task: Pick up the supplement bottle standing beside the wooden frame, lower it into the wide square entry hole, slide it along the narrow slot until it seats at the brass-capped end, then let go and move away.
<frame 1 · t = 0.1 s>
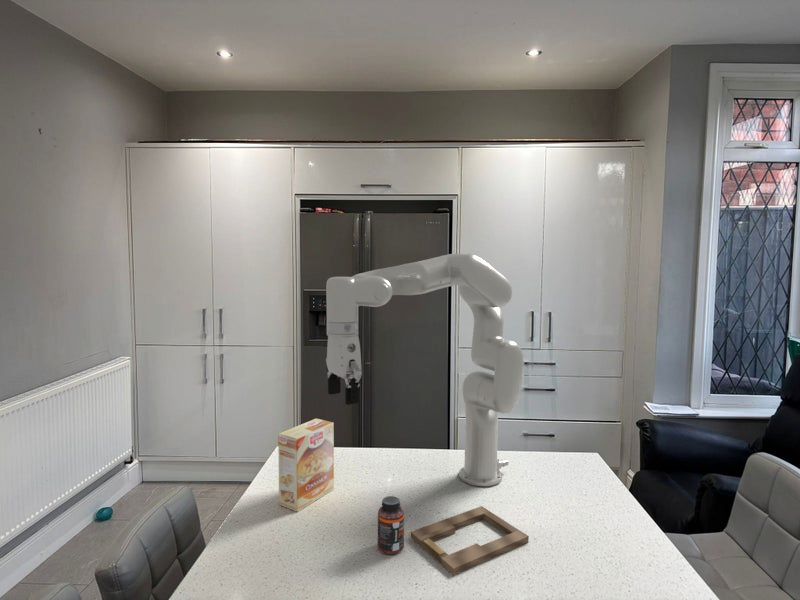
hand: (342, 398, 120), 31 cm above the kitchen island, tool pointing down, fingers open, 9 cm apart
coffeecake box: (307, 497, 134), on the kitchen island
wooden frame: (458, 544, 113), on the kitchen island
supplement bottle: (390, 548, 111), on the kitchen island
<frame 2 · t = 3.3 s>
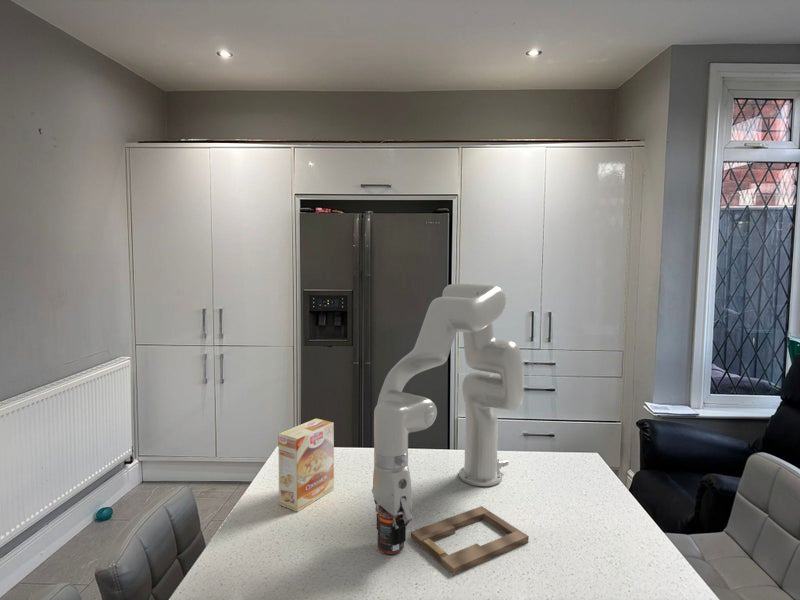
hand: (390, 534, 111), 3 cm above the kitchen island, tool pointing down, fingers closed on supplement bottle, 6 cm apart
supplement bottle: (390, 548, 111), on the kitchen island, touching gripper
everything else where it was.
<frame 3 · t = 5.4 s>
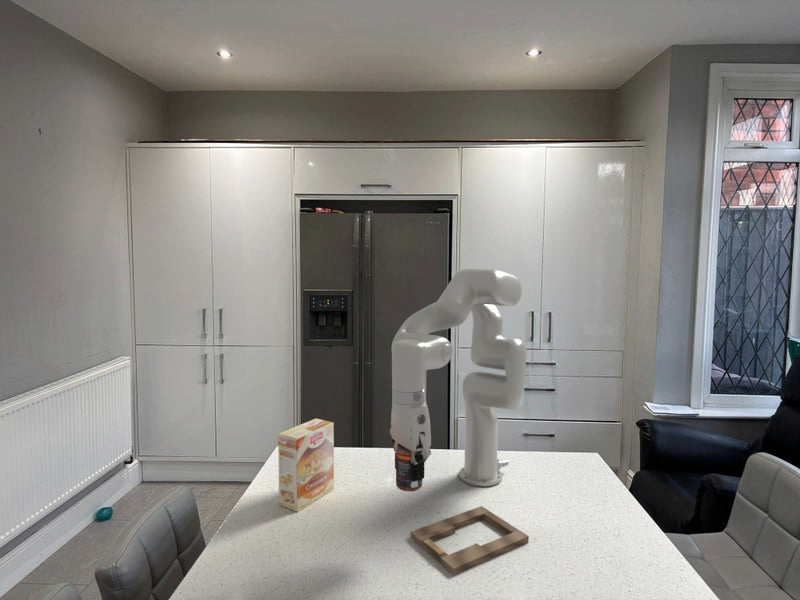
hand: (409, 473, 111), 17 cm above the kitchen island, tool pointing down, fingers closed on supplement bottle, 6 cm apart
supplement bottle: (409, 487, 111), point 14 cm above the kitchen island, touching gripper
everything else where it was.
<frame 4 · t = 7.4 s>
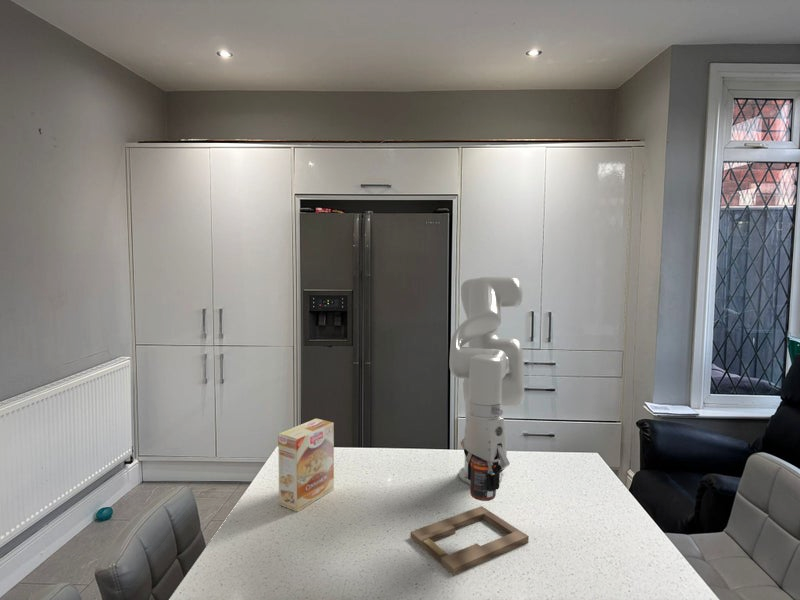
hand: (483, 483, 115), 13 cm above the kitchen island, tool pointing down, fingers closed on supplement bottle, 6 cm apart
supplement bottle: (482, 496, 116), point 9 cm above the kitchen island, touching gripper
everything else where it was.
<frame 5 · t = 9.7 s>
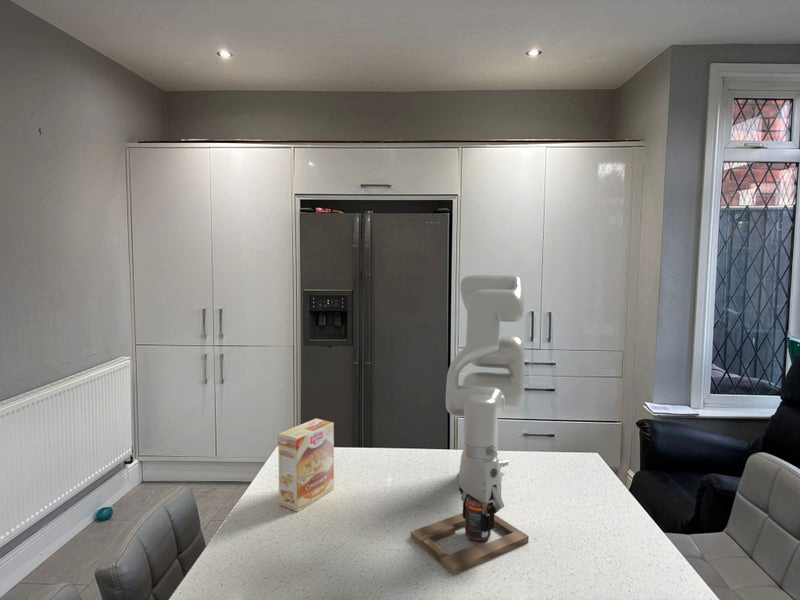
hand: (478, 522, 116), 3 cm above the kitchen island, tool pointing down, fingers closed on supplement bottle, 6 cm apart
supplement bottle: (477, 535, 116), resting in wooden frame, touching gripper
everything else where it was.
when the fingers open (3 cm above the kitchen island, at t = 11.8 s): supplement bottle stays where it is, resting in wooden frame.
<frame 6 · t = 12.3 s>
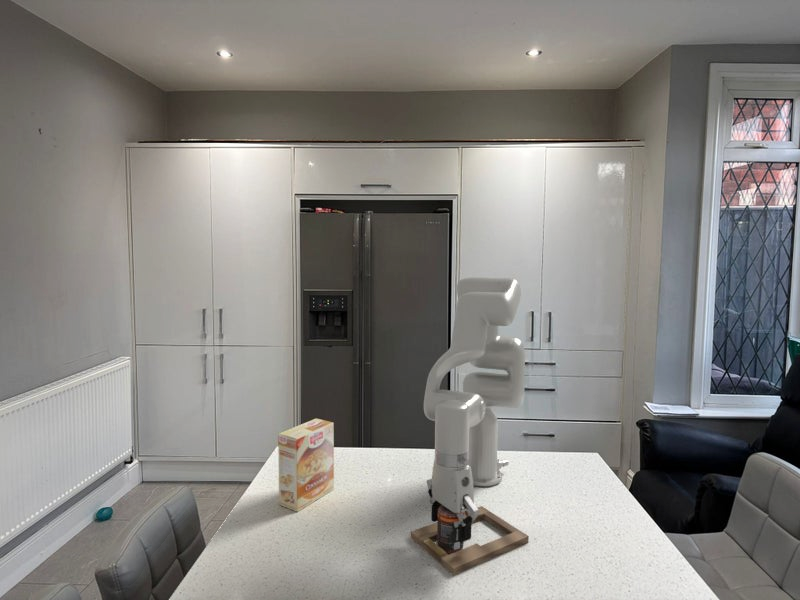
hand: (450, 529, 111), 4 cm above the kitchen island, tool pointing down, fingers open, 9 cm apart
supplement bottle: (450, 547, 112), resting in wooden frame
everything else where it was.
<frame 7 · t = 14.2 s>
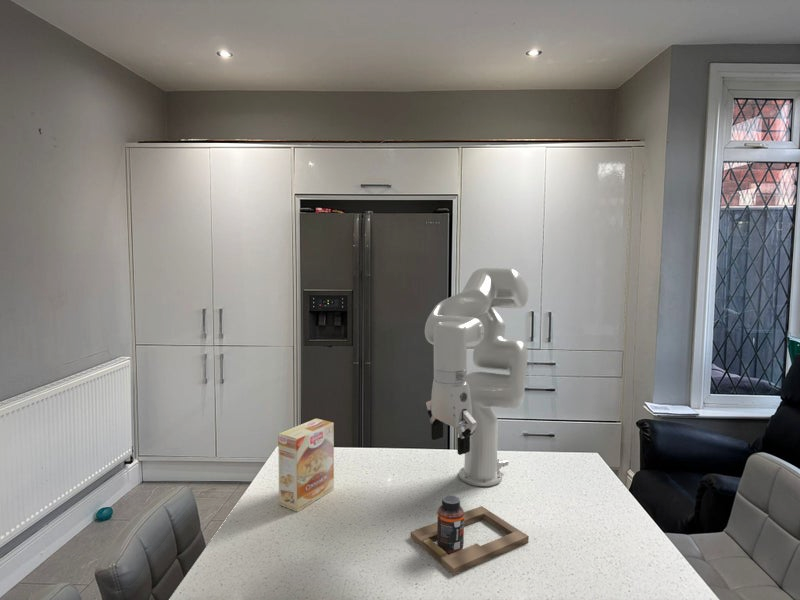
hand: (450, 445, 117), 21 cm above the kitchen island, tool pointing down, fingers open, 9 cm apart
nothing on the kitchen island moved.
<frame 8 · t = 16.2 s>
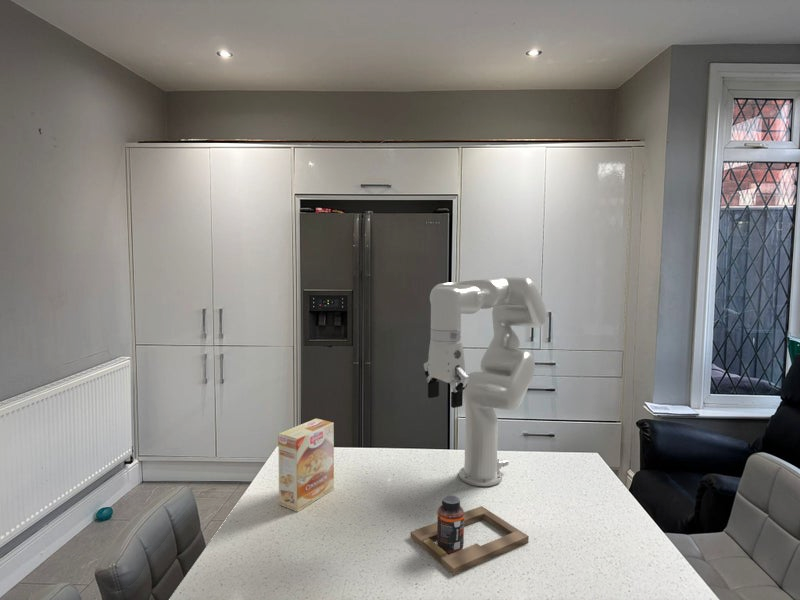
hand: (444, 401, 127), 28 cm above the kitchen island, tool pointing down, fingers open, 9 cm apart
nothing on the kitchen island moved.
at the end: supplement bottle 0.4 cm from the target spot on the wooden frame, point 0.0 cm above the wooden frame's base; supplement bottle tilted 0°; the gripper is holding nothing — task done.
